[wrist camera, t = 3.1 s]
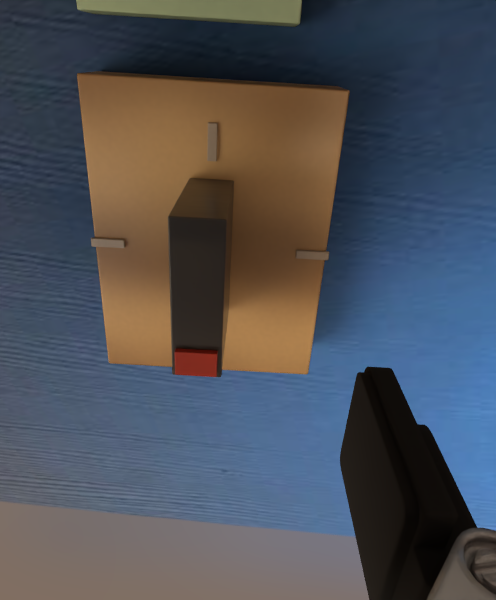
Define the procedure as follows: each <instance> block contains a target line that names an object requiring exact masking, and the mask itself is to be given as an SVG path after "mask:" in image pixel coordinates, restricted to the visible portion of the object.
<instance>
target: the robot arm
mask: <svg viewBox="0 0 496 600" xmlns="http://www.w3.org/2000/svg"><path fill="white" fill-rule="evenodd" d="M340 465H341V471H342V475H343V480H344V485H345V489H346V494H347V498H348V503H349V508H350V512H351V517H352V521H353V526H354V531H355V535H356V540H357V545H358V549H359V554H360V558H361V563H362V567H363V572H364V577H365V581H366V586H367V590H368V595H369V600H496V531H494V530H490V529H486V528H477V526H476V524H475V522H474V520H473V518H472V516H471V514H470V512H469V510H468V508H467V505H466V503H465V501H464V499H463V497H462V495H461V493H460V491H459V489H458V487H457V485H456V483H455V481H454V478H453V476H452V474H451V472H450V470H449V468H448V466H447V464H446V462H445V460H444V458H443V456H442V454H441V451H440V449H439V447H438V445H437V443H436V441H435V439H434V437H433V435H432V433H431V431H430V430H429V428H428V427H427V426H425V425H418V424H417V423H416V421H415V418H414V416H413V414H412V412H411V410H410V407H409V405H408V403H407V401H406V399H405V396H404V394H403V392H402V390H401V388H400V385H399V383H398V381H397V379H396V377H395V374H394V372H393V370H392V369H391V368H381V367H367V368H366V369H365V372H364V373H361V372H359V373H358V374H357V377H356V381H355V386H354V391H353V395H352V400H351V405H350V410H349V415H348V419H347V424H346V429H345V434H344V439H343V443H342V448H341V454H340Z"/></svg>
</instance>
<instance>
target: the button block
mask: <svg viewBox="0 0 496 600" xmlns="http://www.w3.org/2000/svg"><path fill="white" fill-rule="evenodd" d="M76 1H77V9H78V10H81V11H84V12H88V13H92V14H104V15H120V16H135V17H151V18H166V19H182V20H198V21H213V22H229V23H244V24H260V25H275V26H291V27H296V26H297V25H299V24H300V18H301V7H302V0H76Z"/></svg>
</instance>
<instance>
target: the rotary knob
mask: <svg viewBox="0 0 496 600" xmlns="http://www.w3.org/2000/svg"><path fill="white" fill-rule="evenodd" d="M233 197H234V181H233V180H219V179H202V178H189V180H188V182H187V184H186V185H185V187H184V189H183V191H182V192H181V194H180V196H179V198H178V200H177V201H176V203H175V205H174V207H173V209H172V210H171V212H170V214H169V216H168V245H169V279H170V313H171V347H172V373H173V374H175V375H191V376H209V377H221V375H222V366H223V357H224V348H225V340H226V331H227V322H228V313H229V295H230V270H231V246H232V222H233Z"/></svg>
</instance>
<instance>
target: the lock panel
mask: <svg viewBox="0 0 496 600" xmlns="http://www.w3.org/2000/svg"><path fill="white" fill-rule="evenodd" d="M77 80H78V89H79V98H80V107H81V116H82V125H83V134H84V143H85V152H86V161H87V170H88V179H89V188H90V197H91V206H92V215H93V224H94V233H95V238H91V243H92V246H94V247H96V251H97V260H98V269H99V278H100V287H101V296H102V305H103V314H104V323H105V332H106V341H107V350H108V359H109V363H115V364H133V365H151V366H169V367H172V347H171V313H170V279H169V245H168V216H169V214H170V212H171V210H172V209H173V207H174V205H175V203H176V201H177V200H178V198H179V196H180V194H181V192H182V191H183V189H184V187H185V185H186V184H187V182H188V180H189V178H202V179H219V180H233V181H234V197H233V222H232V246H231V270H230V295H229V313H228V322H227V331H226V340H225V348H224V357H223V366H222V370H239V371H257V372H275V373H293V374H308V370H309V364H310V357H311V350H312V343H313V337H314V330H315V323H316V316H317V310H318V303H319V296H320V289H321V283H322V276H323V269H324V262H325V260H328V258H329V252H328V251H326V249H327V242H328V235H329V229H330V222H331V215H332V208H333V202H334V195H335V188H336V181H337V175H338V168H339V161H340V154H341V148H342V141H343V134H344V127H345V121H346V114H347V107H348V100H349V94H350V92H349V90H347V89H344V88H341V87H338V86H325V85H309V84H293V83H277V82H261V81H245V80H229V79H214V78H198V77H182V76H166V75H150V74H134V73H118V72H102V71H96V72H85V73H78V74H77Z"/></svg>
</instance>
